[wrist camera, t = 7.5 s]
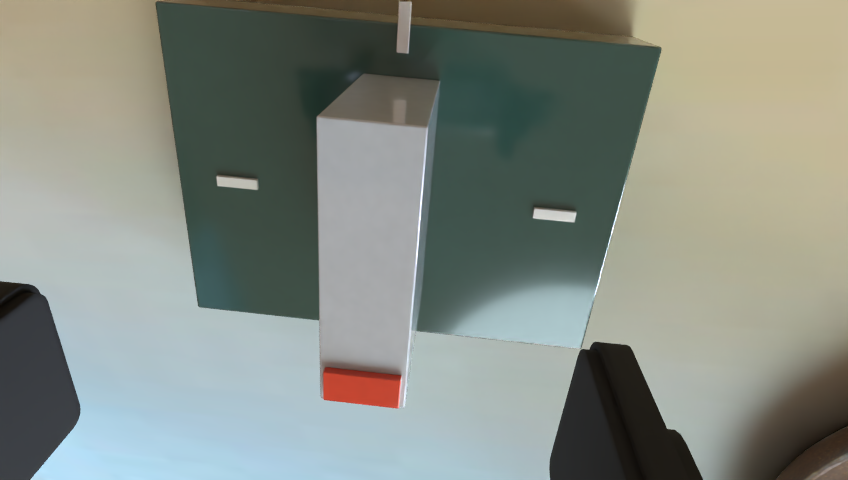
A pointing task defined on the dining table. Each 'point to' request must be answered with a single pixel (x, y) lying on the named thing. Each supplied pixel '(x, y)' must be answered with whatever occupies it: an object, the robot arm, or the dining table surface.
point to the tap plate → (452, 165)
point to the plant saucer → (821, 460)
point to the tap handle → (373, 234)
